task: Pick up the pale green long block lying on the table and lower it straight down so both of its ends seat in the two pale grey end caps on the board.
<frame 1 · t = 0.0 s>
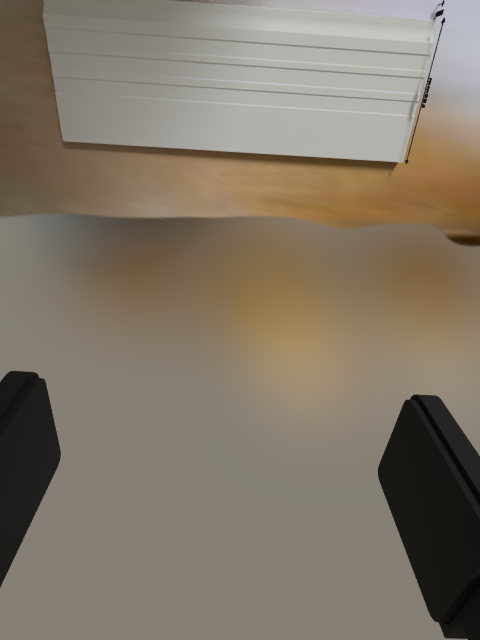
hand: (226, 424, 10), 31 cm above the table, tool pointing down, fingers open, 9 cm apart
baseboard molding: (239, 75, 33), on the table
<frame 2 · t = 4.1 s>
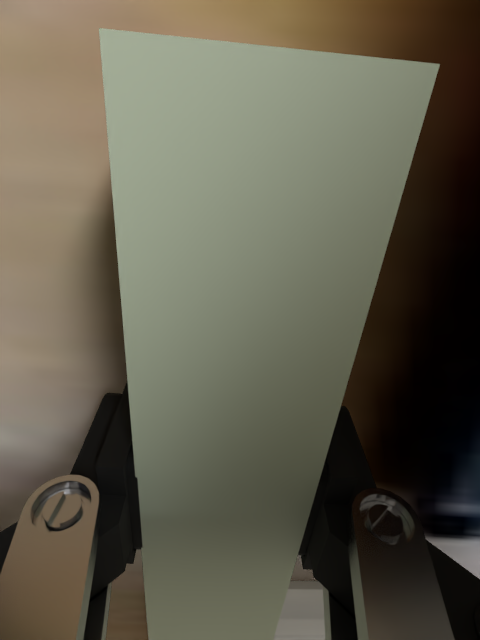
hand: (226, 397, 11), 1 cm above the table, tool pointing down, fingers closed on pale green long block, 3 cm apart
pale green long block: (227, 379, 12), on the table, touching gripper
baseboard molding: (439, 609, 21), on the table
when the fingers open (4 cm above the table, at t = 9.0 s): pale green long block drops 1 cm, resting on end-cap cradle.
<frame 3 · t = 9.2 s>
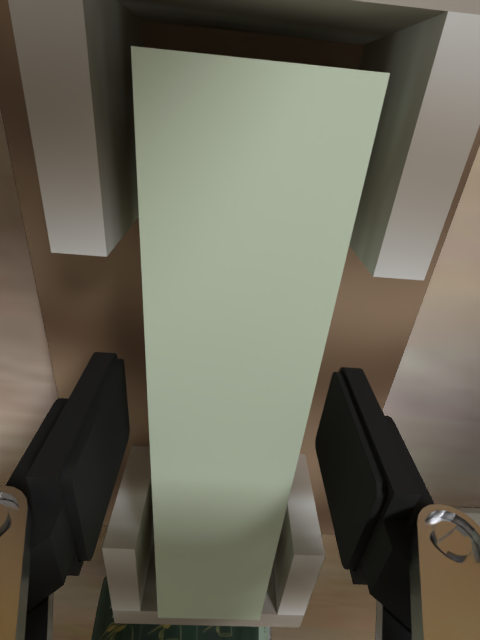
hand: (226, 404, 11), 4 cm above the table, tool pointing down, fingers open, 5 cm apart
pale green long block: (227, 352, 13), point 1 cm above the table, touching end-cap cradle
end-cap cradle: (228, 329, 14), on the table
coffee jar: (191, 574, 24), on the table
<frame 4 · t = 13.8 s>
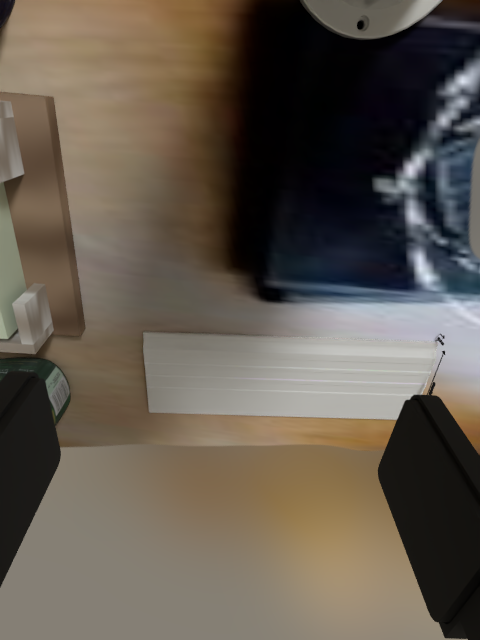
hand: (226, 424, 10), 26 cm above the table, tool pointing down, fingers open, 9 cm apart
baseboard molding: (286, 366, 43), on the table
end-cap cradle: (2, 224, 34), on the table
coffee jar: (30, 381, 43), on the table
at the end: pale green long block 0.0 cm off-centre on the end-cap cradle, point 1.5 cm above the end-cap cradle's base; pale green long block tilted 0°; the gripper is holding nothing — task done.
